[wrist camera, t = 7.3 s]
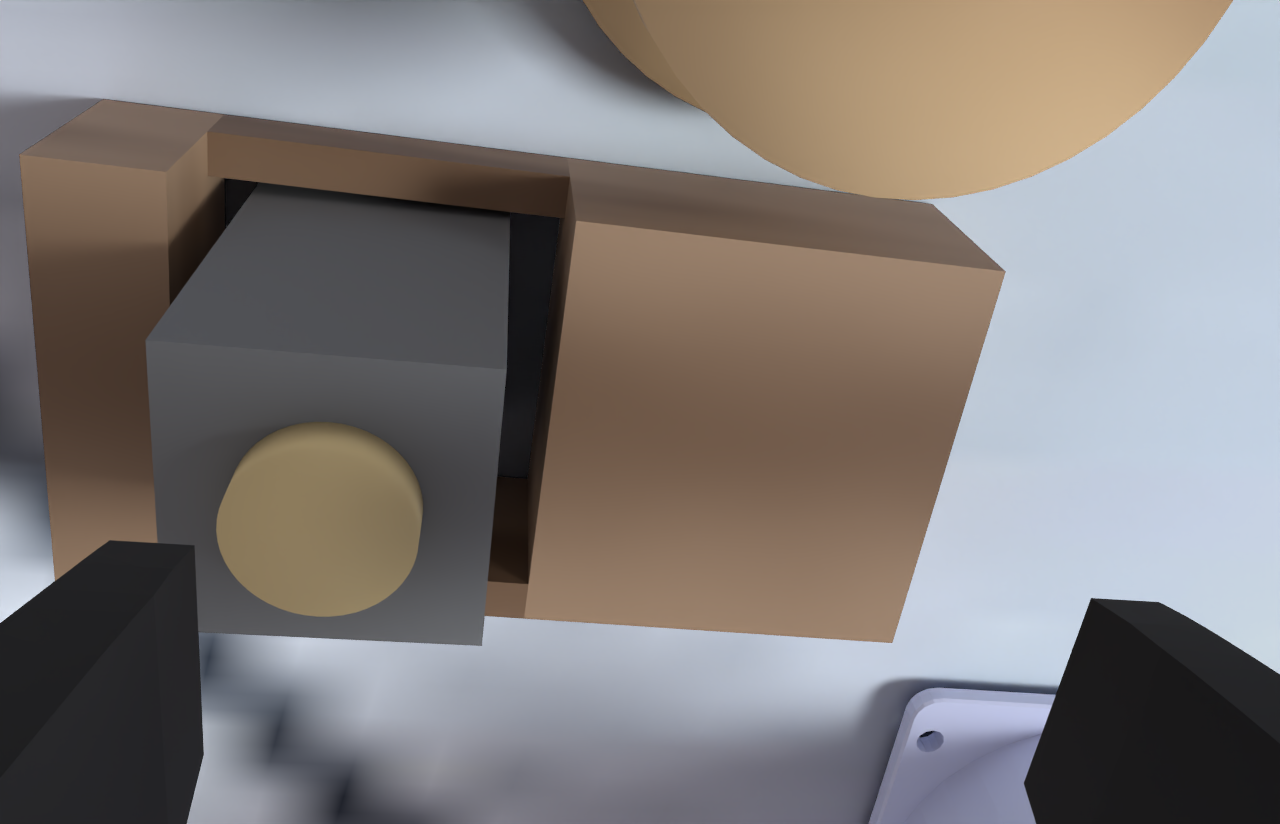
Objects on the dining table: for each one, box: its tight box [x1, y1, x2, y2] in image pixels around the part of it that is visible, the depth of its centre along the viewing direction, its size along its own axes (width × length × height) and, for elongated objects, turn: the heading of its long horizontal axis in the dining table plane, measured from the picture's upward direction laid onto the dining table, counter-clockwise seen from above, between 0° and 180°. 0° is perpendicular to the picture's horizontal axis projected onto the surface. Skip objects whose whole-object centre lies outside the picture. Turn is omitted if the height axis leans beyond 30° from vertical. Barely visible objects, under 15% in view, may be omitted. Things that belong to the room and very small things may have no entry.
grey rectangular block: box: [145, 182, 510, 646], centre depth 15 cm, size 4×4×7 cm
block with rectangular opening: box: [19, 99, 1005, 643], centre depth 17 cm, size 6×12×3 cm, turn 82°
